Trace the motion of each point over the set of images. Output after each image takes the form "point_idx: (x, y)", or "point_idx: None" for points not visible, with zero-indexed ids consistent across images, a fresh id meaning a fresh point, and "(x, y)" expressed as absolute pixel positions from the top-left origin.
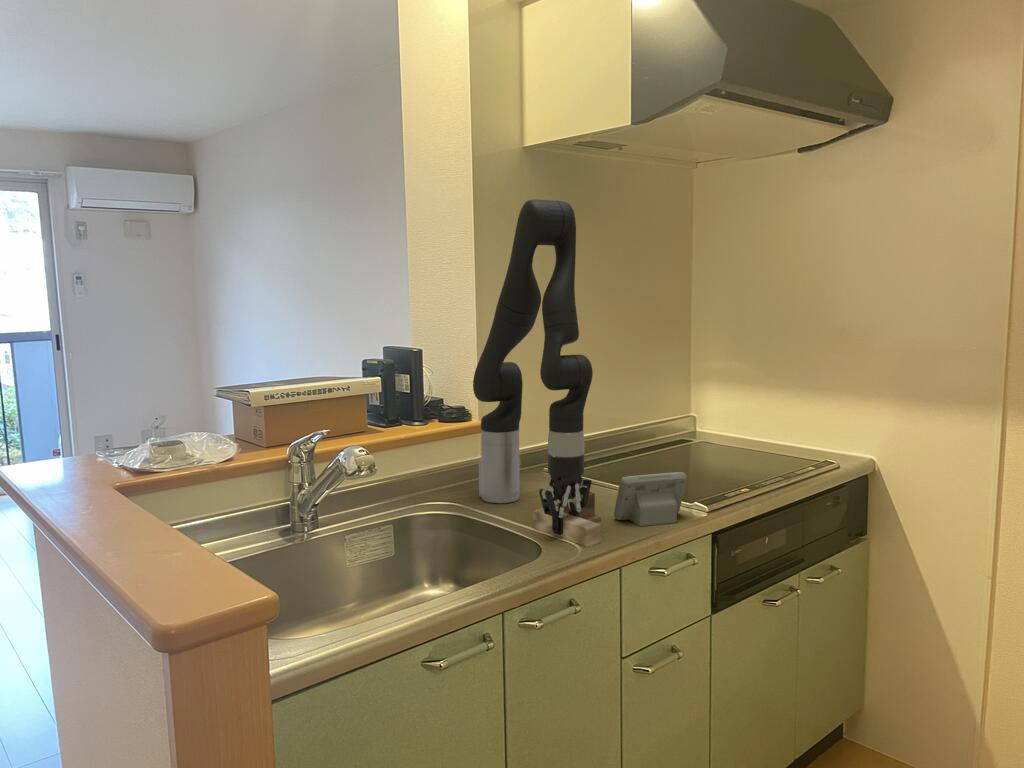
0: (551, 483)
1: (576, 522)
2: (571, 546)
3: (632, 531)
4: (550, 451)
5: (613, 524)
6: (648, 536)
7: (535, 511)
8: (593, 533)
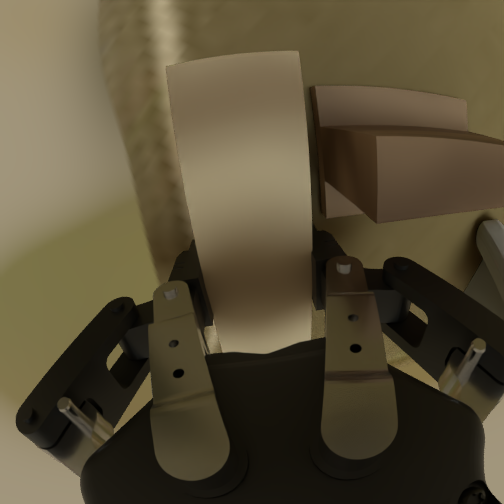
0: (97, 497)
1: None
2: None
3: (422, 319)
4: None
5: (446, 251)
6: (408, 356)
7: (169, 89)
8: None
